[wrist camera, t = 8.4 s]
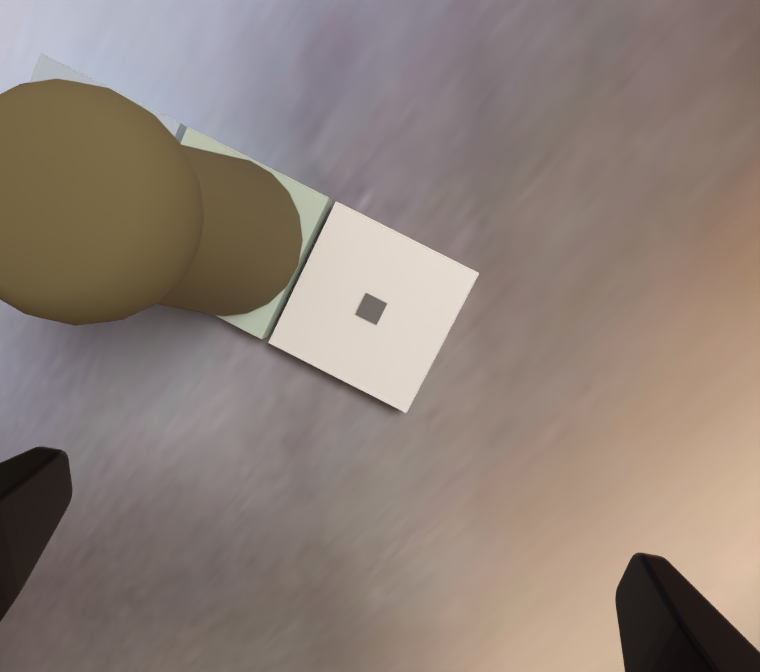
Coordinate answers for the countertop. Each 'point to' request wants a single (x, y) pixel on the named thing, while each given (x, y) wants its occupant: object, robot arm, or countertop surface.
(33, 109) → the cork
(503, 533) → the countertop surface
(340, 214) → the tile strip
